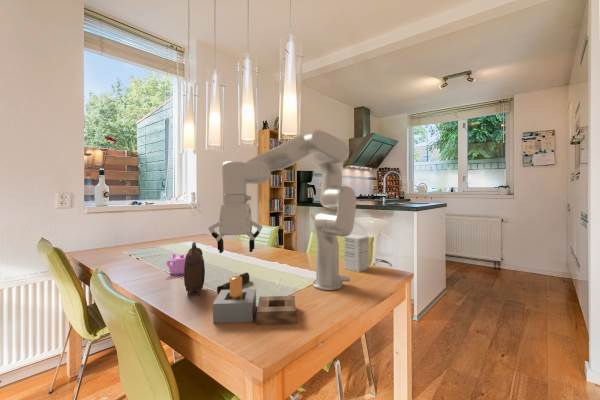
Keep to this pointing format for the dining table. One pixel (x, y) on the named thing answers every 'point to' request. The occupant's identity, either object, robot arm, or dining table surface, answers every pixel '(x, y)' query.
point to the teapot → (177, 264)
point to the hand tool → (227, 286)
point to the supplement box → (356, 252)
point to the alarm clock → (194, 269)
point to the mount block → (276, 310)
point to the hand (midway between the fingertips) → (236, 251)
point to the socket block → (234, 307)
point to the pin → (236, 288)
